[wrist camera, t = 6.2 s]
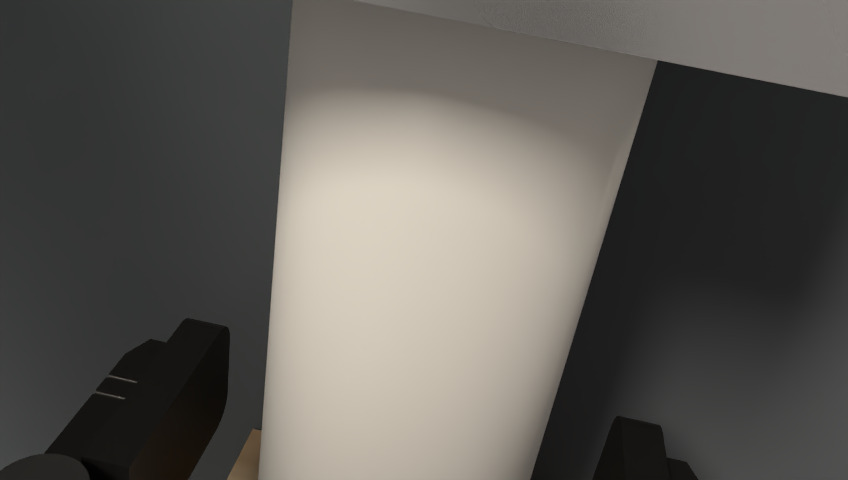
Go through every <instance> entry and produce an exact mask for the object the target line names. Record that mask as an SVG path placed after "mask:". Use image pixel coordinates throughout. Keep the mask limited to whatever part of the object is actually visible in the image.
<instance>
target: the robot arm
mask: <svg viewBox="0 0 848 480" xmlns="http://www.w3.org/2000/svg"><path fill="white" fill-rule="evenodd" d="M229 346H230V332H229V329H228V327H226V326H221V325H217V324H212V323H208V322H203V321H199V320H194V319H190V318H187V319H185V320H184V321H183V322H182V323H181V324H180V325H179V327H178V328H177V329H176V331H175V332H174V333H173V335H172V336H171V337H170V339H169V340H168V341H167V343H166V342H161V341H157V340H152V339H150V340H148V341H146V342H145V343H143V344H141V345H140V346H138V347H136V348H134V349H133V350H131V351H129V352H128V353H126V354H125V355H124V356H123V357H122V358H121V360H120V361H119V362H118V363H117V365H116V366H115V367H114V368H113V370H112V371H111V372H110V373H109V377H108V378H105V379H104V381H103V382H102V383H101V384H100V386H99V387H98V388H97V389H96V393H95V394H92V395H91V397H90V398H89V399H88V400H87V401H86V403H85V404H84V405H83V406H82V408H81V409H80V410H79V411H78V413H77V414H76V415H75V416H74V417H73V419H72V420H71V421H70V422H69V424H68V425H67V426H66V427H65V429H64V430H63V431H62V432H61V433H60V435H59V436H58V437H57V438H56V440H55V441H54V442H53V443H52V444H51V446H50V447H49V448H48V449H47V451H46V452H45V453H44V454H38V455H33V456H29V457H26V458H23V459H20V460H18V461H15V462H13V463H11V464H10V465H8V466H6V467H5V468H3V469H2V470H1V471H0V480H188V479H189V477H190V475H191V473H192V472H193V470H194V468H195V466H196V464H197V463H198V461H199V459H200V457H201V456H202V454H203V452H204V450H205V449H206V447H207V445H208V443H209V442H210V440H211V438H212V436H213V435H214V433H215V431H216V429H217V427H218V425H219V423H220V421H221V418H222V415H223V412H224V409H225V405H226V400H227V392H228V369H229ZM592 480H698V479H697V477H696V476H695V474H694V472H693V471H692V469H691V468H690V466H689V465H688V463H687V462H684V461H680V460H675V459H671V458H667V457H666V451H665V444H664V438H663V432H662V428H661V426H660V425H657V424H652V423H648V422H643V421H639V420H634V419H630V418H625V417H621V416H617V417H616V418H615V419H614V421H613V423H612V426H611V429H610V431H609V434H608V437H607V440H606V443H605V445H604V448H603V451H602V454H601V456H600V459H599V462H598V465H597V468H596V470H595V473H594V476H593V479H592Z"/></svg>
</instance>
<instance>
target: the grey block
mask: <svg viewBox="0 0 848 480" xmlns="http://www.w3.org/2000/svg"><path fill="white" fill-rule="evenodd" d="M354 1H359V2H364V3H369V4H374V5H379V6H385V7H390V8H395V9H400V10H405V11H410V12H415V13H420V14H425V15H430V16H436V17H441V18H446V19H451V20H456V21H461V22H466V23H471V24H476V25H481V26H487V27H492V28H497V29H502V30H507V31H512V32H517V33H522V34H527V35H533V36H538V37H543V38H548V39H553V40H558V41H563V42H568V43H573V44H578V45H584V46H589V47H594V48H599V49H604V50H609V51H614V52H619V53H624V54H629V55H635V56H640V57H645V58H650V59H655V60H660V61H665V62H670V63H675V64H681V65H686V66H691V67H696V68H701V69H706V70H711V71H716V72H721V73H726V74H732V75H737V76H742V77H747V78H752V79H757V80H762V81H767V82H772V83H777V84H783V85H788V86H793V87H798V88H803V89H808V90H813V91H818V92H823V93H829V94H834V95H839V96H844V97H848V0H354Z"/></svg>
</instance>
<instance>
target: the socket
mask: <svg viewBox="0 0 848 480" xmlns="http://www.w3.org/2000/svg"><path fill="white" fill-rule="evenodd" d="M261 432H262V431H261V430H256V429H252V431H251V433H250V435H249V437H248V439H247V441H246V443H245V445H244V447H243V449H242V451H241V453H240V455H239V457H238V459H237V461H236V463H235V465H234V466H233V468H232V470H231V472H230V474H229V476H228V478H227V480H258V474H259V460H260V446H261Z"/></svg>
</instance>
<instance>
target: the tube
mask: <svg viewBox="0 0 848 480" xmlns="http://www.w3.org/2000/svg"><path fill="white" fill-rule="evenodd" d="M657 61H658V60H655V59H650V58H645V57H640V56H635V55H629V54H624V53H619V52H614V51H609V50H604V49H599V48H594V47H589V46H584V45H578V44H573V43H568V42H563V41H558V40H553V39H548V38H543V37H538V36H533V35H527V34H522V33H517V32H512V31H507V30H502V29H497V28H492V27H487V26H481V25H476V24H471V23H466V22H461V21H456V20H451V19H446V18H441V17H436V16H430V15H425V14H420V13H415V12H410V11H405V10H400V9H395V8H390V7H385V6H379V5H374V4H369V3H364V2H359V1H354V0H293V2H292V16H291V30H290V44H289V58H288V71H287V85H286V99H285V113H284V127H283V141H282V155H281V169H280V182H279V196H278V210H277V224H276V238H275V252H274V266H273V279H272V293H271V307H270V321H269V335H268V349H267V363H266V377H265V390H264V404H263V418H262V432H261V446H260V460H259V474H258V480H530V479H531V475H532V472H533V469H534V466H535V462H536V459H537V456H538V452H539V449H540V446H541V443H542V439H543V436H544V433H545V429H546V426H547V423H548V420H549V416H550V413H551V410H552V406H553V403H554V400H555V397H556V393H557V390H558V387H559V383H560V380H561V377H562V374H563V370H564V367H565V364H566V360H567V357H568V354H569V351H570V347H571V344H572V341H573V337H574V334H575V331H576V328H577V324H578V321H579V318H580V314H581V311H582V308H583V305H584V301H585V298H586V295H587V291H588V288H589V285H590V282H591V278H592V275H593V272H594V268H595V265H596V262H597V259H598V255H599V252H600V249H601V245H602V242H603V239H604V236H605V232H606V229H607V226H608V222H609V219H610V216H611V213H612V209H613V206H614V203H615V199H616V196H617V193H618V190H619V186H620V183H621V180H622V176H623V173H624V170H625V167H626V163H627V160H628V157H629V153H630V150H631V147H632V144H633V140H634V137H635V134H636V130H637V127H638V124H639V121H640V117H641V114H642V111H643V107H644V104H645V101H646V98H647V94H648V91H649V88H650V84H651V81H652V78H653V75H654V71H655V68H656V65H657Z"/></svg>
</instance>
